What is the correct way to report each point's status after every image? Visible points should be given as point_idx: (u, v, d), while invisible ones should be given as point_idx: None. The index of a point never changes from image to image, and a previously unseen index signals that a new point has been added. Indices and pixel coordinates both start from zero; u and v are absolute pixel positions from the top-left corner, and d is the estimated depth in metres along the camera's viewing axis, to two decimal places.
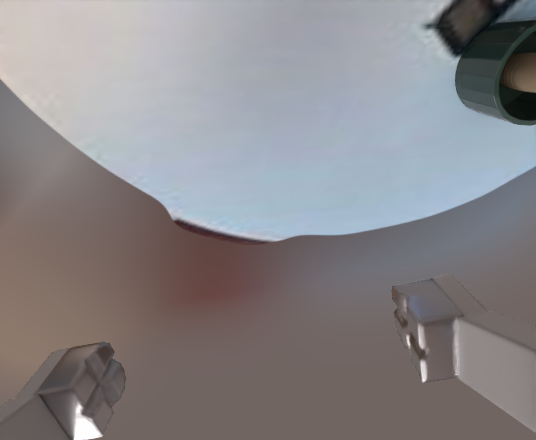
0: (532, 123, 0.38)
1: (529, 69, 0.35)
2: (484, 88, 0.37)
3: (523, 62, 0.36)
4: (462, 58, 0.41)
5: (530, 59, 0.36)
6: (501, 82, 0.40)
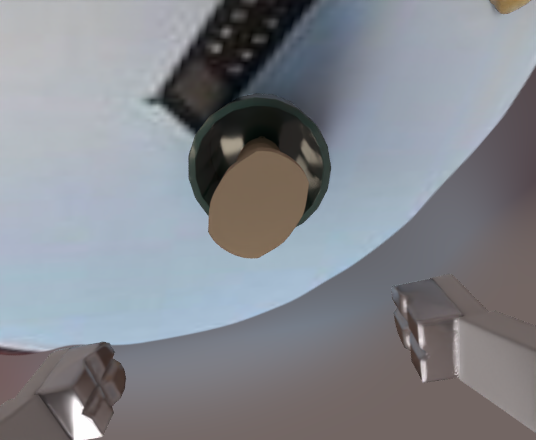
0: None
1: None
2: None
3: (240, 154, 0.26)
4: None
5: (242, 151, 0.26)
6: None
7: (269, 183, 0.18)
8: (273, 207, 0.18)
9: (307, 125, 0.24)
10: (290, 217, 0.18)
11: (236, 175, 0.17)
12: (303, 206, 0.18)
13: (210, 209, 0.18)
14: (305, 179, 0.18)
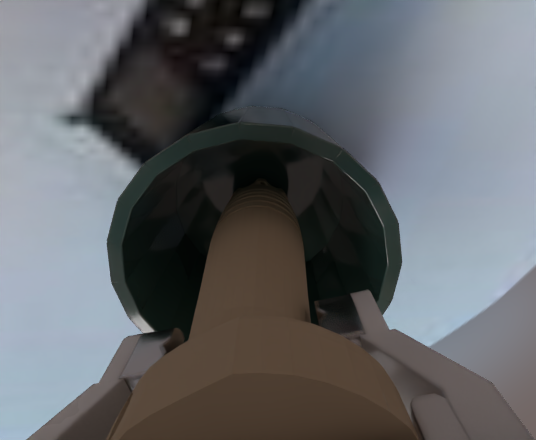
0: None
1: (206, 260, 0.12)
2: None
3: (218, 228, 0.13)
4: None
5: (221, 226, 0.13)
6: None
7: None
8: None
9: (358, 181, 0.11)
10: None
11: None
12: None
13: None
14: None
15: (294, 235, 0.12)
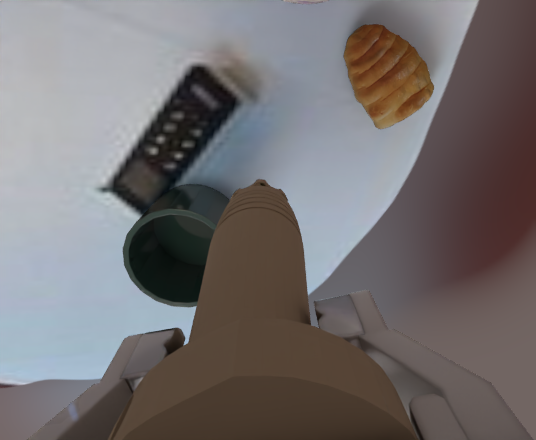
0: (190, 305, 0.34)
1: None
2: None
3: (218, 230, 0.13)
4: None
5: (221, 227, 0.13)
6: None
7: None
8: None
9: (213, 228, 0.30)
10: None
11: None
12: None
13: None
14: None
15: (294, 236, 0.12)
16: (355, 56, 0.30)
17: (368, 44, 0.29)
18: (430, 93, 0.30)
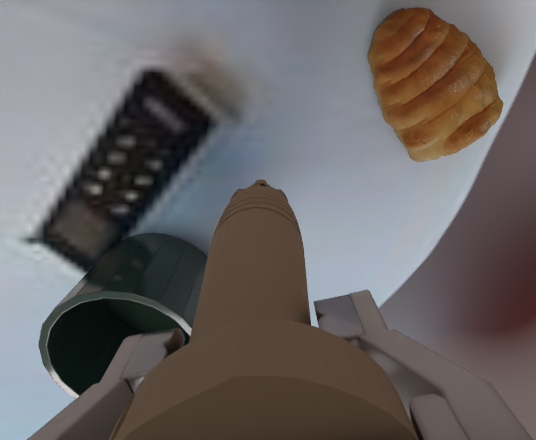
0: None
1: None
2: None
3: (218, 230, 0.13)
4: None
5: (221, 228, 0.13)
6: None
7: None
8: None
9: (171, 316, 0.20)
10: None
11: None
12: None
13: None
14: None
15: (294, 237, 0.12)
16: (386, 56, 0.20)
17: (408, 38, 0.19)
18: (499, 113, 0.20)
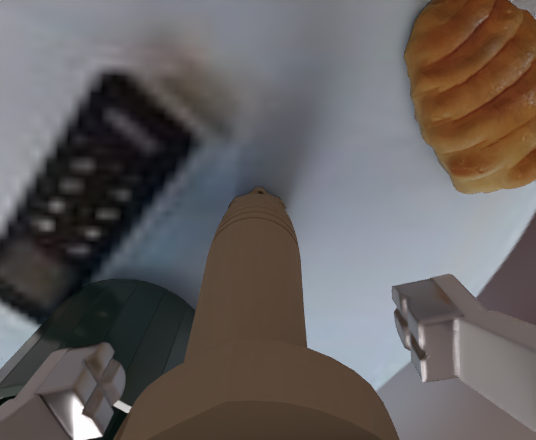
0: None
1: (204, 272, 0.12)
2: None
3: (215, 239, 0.14)
4: None
5: (218, 237, 0.13)
6: None
7: None
8: None
9: None
10: None
11: None
12: None
13: None
14: None
15: (290, 247, 0.13)
16: (433, 54, 0.14)
17: (466, 29, 0.14)
18: None
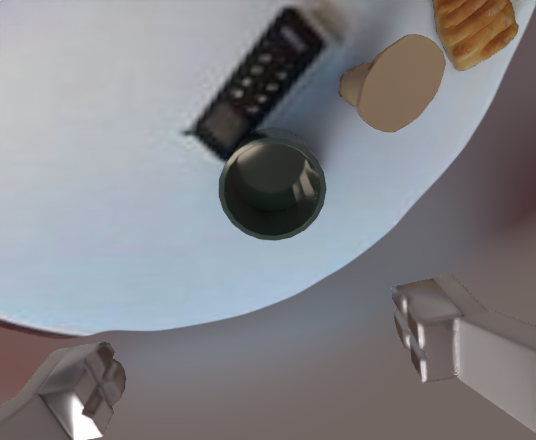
0: (276, 238, 0.35)
1: (351, 80, 0.30)
2: None
3: (350, 74, 0.31)
4: None
5: (354, 69, 0.30)
6: (344, 99, 0.35)
7: (414, 62, 0.22)
8: (414, 85, 0.23)
9: (308, 157, 0.32)
10: (426, 94, 0.23)
11: (390, 55, 0.22)
12: (438, 84, 0.23)
13: (364, 86, 0.23)
14: (443, 60, 0.22)
15: None
16: None
17: None
18: (516, 31, 0.32)
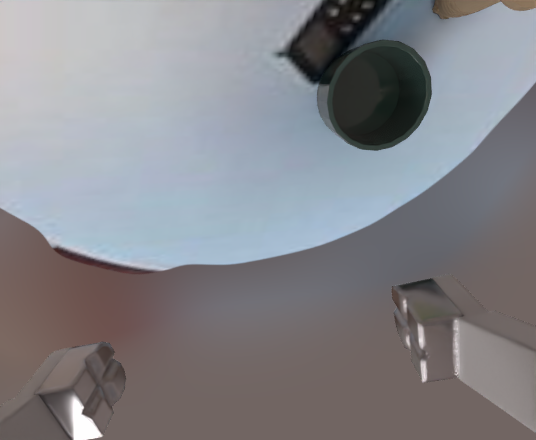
0: (378, 148, 0.36)
1: None
2: (326, 113, 0.36)
3: None
4: None
5: None
6: (443, 11, 0.36)
7: None
8: None
9: (418, 61, 0.33)
10: None
11: None
12: None
13: None
14: None
15: None
16: None
17: None
18: None
